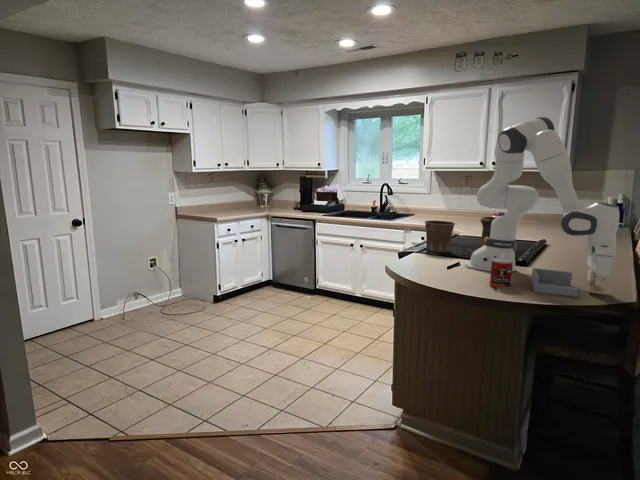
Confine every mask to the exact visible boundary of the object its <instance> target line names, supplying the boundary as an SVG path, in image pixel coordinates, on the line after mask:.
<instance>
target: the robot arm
mask: <svg viewBox="0 0 640 480" xmlns="http://www.w3.org/2000/svg"><path fill="white" fill-rule="evenodd" d="M497 138H498V139H497V141H498V143H497V147H496V153H495V168H494V172H493V175H492V177H491V179H490V180H489V181H487V183H485V184H483V185H482V186H480V188H479V189H478V190H477V194H476V200H477V202H478V203H479V204H478V205H480V206H481V207H485V208H490V209H499V210H500V209H502V210H507V212H506V213H504V214H503V215H500V216H496V217H497V218H495V219H494V220H493V221H492V223H491V232H490V237H489V238H488V237H485V239H484V240H485V245H484V246H482V245H481V247H479V248H477V249H475V250H474V251H473V252H472V253H471V256H470V259H469V260H466V261H465V264H464V265H465V267H466V268H468V269H475V270H480V271H487V272H491V264H492V259H493V258H507V259H510V260H512V261H513V266H512V272H516V271H517V267H516V259H515V258H516V256H515V253H516V250H517V244H518V243H517V233H518V228H519V223H520V221H521V219H522V218H523V216H525V214H526V213H528V212H529V211H531V210H533V209H534V208H535V207H536V206H537V204H538V202H539V198H540V196H539V193H538V191H537V189H536V188H535V187H533V186H527V185H522V184H521V185H518V184H509V183H511V182H514V181H517V180H518V179H519V178H520V177H521V176H522V175H523V172H524V171H523V170H524V159H525V151H528V152H530V153H531V155H532V156H533V160H534V163H535V166H536V167H537V169H538V172H539V174H540V175H541V177H542V178H543V180H544V181H545V182H547V183H548V184H549V185H550V186H551V188H553V190H554V192H555V194H556V196H557V197H558V200H559V204H560V206H561V208H562V219H561V222H560V227H561V229H562V231H564V232H565V233H566V234H567V235H570V236H573V237H577V236H578V237H579V236H587V242H586V251H588V256H587V262H586V264H587V266H588V267H589V268H590V269H591V270H593V271H594V273H595V274H596V278H595V281H594V284H595V285H598V286H600V285H601V281H602V278H603V277H606V278H609V276H610V274H611V272H612V271H611V270H612V267H613V262H614V257H616V255H617V249H616V247H617V246H616V245H617V232H618V230H619V224H620V209H619V208H618V207H617V206H616V205H614V204H611V203H606V202H601V201H597V202H595V203H593V204H591V205H589V206H585V207H584V206H583V205H582V204H581V202H580V200H579V197H578V195H577V192H576V190H575V187H574V183H573V177H572V176H573V175H572V174H573V173H572V164H571V160H570V159H571V158H570V157H569V153H568V151H567V148H566V147H565V145H564V142H563V141H562V139H561V138H560V136H559V134H558V133H557V132H556V131H555V125H554V123H553V121H552V119H550V118H548V117H544V116H542V117H535V118H532V119H528V120H524V121H521V122H520V123H517V124H514V125H512V126H508V127H506V128H504V129H503V130H501V132H499V135H498V137H497Z"/></svg>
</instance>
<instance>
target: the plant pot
mask: <svg viewBox="0 0 640 480" xmlns="http://www.w3.org/2000/svg"><path fill="white" fill-rule="evenodd" d="M424 224H425V231H426V232H425V233H426V237H425V239H426V240H425V242H426V250H427V251H428V252H431V253H442V254H443V253H448V252H450V247H451V241H452V236H453V231H454V227H455V224H456V223H455V222H453V221H445V220H425V221H424Z"/></svg>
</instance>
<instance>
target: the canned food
mask: <svg viewBox="0 0 640 480" xmlns="http://www.w3.org/2000/svg"><path fill="white" fill-rule="evenodd" d="M512 266H513V261H512V260H510V259H507V258H493V259H492V264H491V271H490V277H489V286H490V287H491V288H494V289H498V287H500V288H508V287H510V286H511V283H512V282H511V281H512V274H513V271H512Z"/></svg>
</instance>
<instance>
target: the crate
mask: <svg viewBox="0 0 640 480" xmlns="http://www.w3.org/2000/svg"><path fill="white" fill-rule="evenodd" d="M572 276H573V272H571V271H564V270H563V271H562V270H552V269H545V268H544V269H543V268H535V267H533V268H532V273H531V280H530V281H531V282H530V283H531V285H532V288H533V292H534V293H543V294H550V295H559V296H565V297H566V296H567V297H573V298H575V297H577V296H578V288H577V287H571V284H572Z"/></svg>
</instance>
